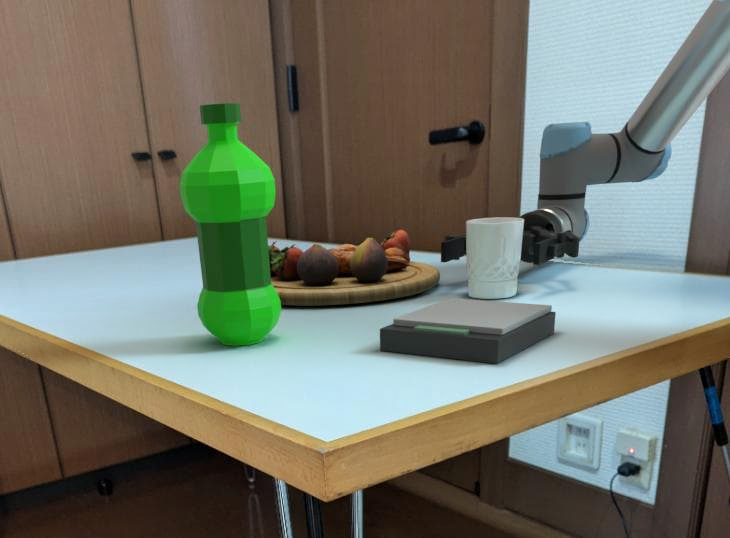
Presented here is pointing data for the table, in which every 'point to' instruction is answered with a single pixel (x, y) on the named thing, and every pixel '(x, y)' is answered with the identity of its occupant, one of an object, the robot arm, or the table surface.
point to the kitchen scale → (469, 330)
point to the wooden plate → (349, 272)
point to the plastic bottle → (231, 231)
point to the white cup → (493, 256)
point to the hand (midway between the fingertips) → (488, 253)
